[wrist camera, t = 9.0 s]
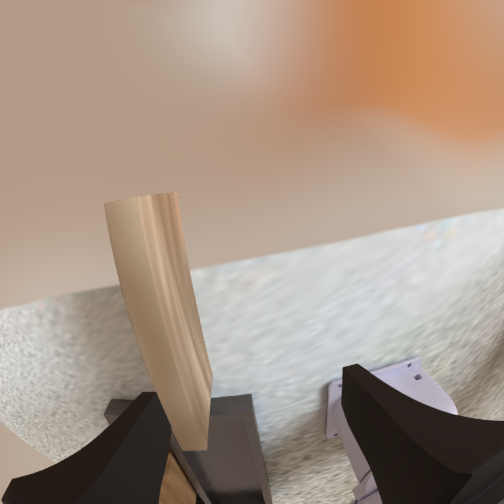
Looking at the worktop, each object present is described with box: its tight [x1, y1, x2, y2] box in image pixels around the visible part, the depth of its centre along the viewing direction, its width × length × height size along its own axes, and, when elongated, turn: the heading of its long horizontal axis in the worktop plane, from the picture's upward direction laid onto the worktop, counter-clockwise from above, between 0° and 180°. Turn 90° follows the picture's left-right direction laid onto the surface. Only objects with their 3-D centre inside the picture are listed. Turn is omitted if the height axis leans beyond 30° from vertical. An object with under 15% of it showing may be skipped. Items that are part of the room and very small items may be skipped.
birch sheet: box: [104, 193, 213, 451], centre depth 16 cm, size 2×14×8 cm, turn 8°
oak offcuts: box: [159, 446, 197, 504], centre depth 20 cm, size 3×11×6 cm, turn 7°
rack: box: [104, 394, 272, 504], centre depth 23 cm, size 13×20×2 cm, turn 7°
